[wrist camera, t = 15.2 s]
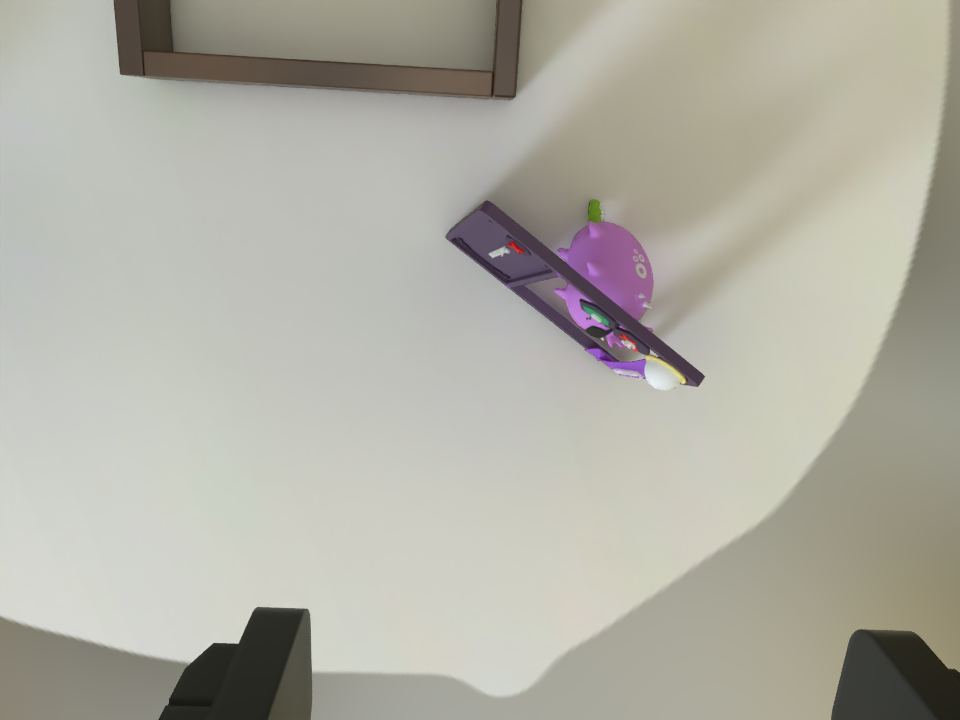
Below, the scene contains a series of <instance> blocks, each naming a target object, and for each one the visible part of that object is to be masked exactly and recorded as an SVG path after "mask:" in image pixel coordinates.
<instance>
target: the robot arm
mask: <svg viewBox="0 0 960 720" xmlns="http://www.w3.org/2000/svg"><path fill="white" fill-rule="evenodd" d="M311 707H312V666H311V624H310V613H309V610H308V609H298V608H269V607H257V608H255V610H254V611H253V613H252V615H251V617H250V619H249V622H248V624H247V626H246V628H245V631H244V633H243V635H242V637H241V640H240V642H239V644H227V643H213V644H212V645H211V646H210V647H209V648H208V649H206V650H205V651H204V652H203V653H202V654H201V655H200V656H199V657H198V658H196V659H195V660H194V661H193V662H192V663H191V664H190V665H189V666H187V667H186V668H185V670H184V672H183V674H182V676H181V678H180V679H179V681H178V683H177V685H176V687H175V689H174V691H173V693H172V695H171V697H170V699H169V704H168V706H165V708H164V710H163V712H162V714H161V716H160V718H159V720H310V718H311V709H312V708H311ZM831 720H960V673H959V672H958V671H957V670H955V669H948V668H947V667H946V666H945V665H944V664H943V663H942V661H941V660H940V659H939V658H938V657H937V656H936V655H935V654H934V652H933V651H932V650H931V649H930V648H929V647H928V646H927V644H926V643H925V642H924V641H923V640H922V639H921V638H920V637H919V636H918V635H917V634H915V633H914V632H911V631H893V630H862V629H861V630H857V631H855V632H854V633H853V634H852V636H851V638H850V640H849V644H848V648H847V652H846V656H845V660H844V664H843V668H842V673H841V677H840V681H839V685H838V689H837V693H836V697H835V701H834V705H833V710H832V717H831Z"/></svg>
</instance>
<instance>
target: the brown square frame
mask: <svg viewBox="0 0 960 720" xmlns="http://www.w3.org/2000/svg"><path fill="white" fill-rule="evenodd" d="M114 9H115V21H116V32H117V44H118V55H119V67H120V74H121V75H127V76H135V77H143V78H150V79H163V80H180V81H196V82H213V83H230V84H246V85H263V86H280V87H296V88H313V89H329V90H346V91H363V92H379V93H396V94H413V95H429V96H446V97H463V98H479V99H491V97H492V99H496V100H512V99H514V98H515V97H516V88H517V74H518V59H519V44H520V29H521V14H522V0H497V4H496V22H495V39H494V56H493V72H492V71H479V70H463V69H446V68H430V67H413V66H397V65H380V64H364V63H347V62H331V61H314V60H298V59H282V58H265V57H249V56H232V55H216V54H199V53H183V52H173V50H172V35H171V19H170V4H169V0H114Z"/></svg>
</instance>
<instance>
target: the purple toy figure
mask: <svg viewBox="0 0 960 720" xmlns="http://www.w3.org/2000/svg"><path fill="white" fill-rule="evenodd" d="M601 203H602V202H599V201H597V200H592V201H591V202H590V204H589V210H588V225H587V226H585V227H584V228H582V229H581V230H580V231H579V232H578V233H577V234H576V236H575V237H574V239H573V241H572V243H571V246H570V249H563V248H558V253H559V255H560V256H561V257H562V258H564V259H565V260H566V261H567V263H568V264H567V263H565V262H564V261H563V260H562V259H560V258H559V257H558V256H557V255H555V254H554V253H553V252H552V251H551V250H549V249H548V248H547V247H546V246H544V245H543V244H542V243H541V242H539V241H538V240H537V239H536V238H535V237H533V236H532V235H531V234H530V233H528V232H527V231H526V230H525V229H523V228H522V227H521V226H520V225H519V224H517V223H516V222H515V221H514V220H512V219H511V218H510V217H509V216H507V215H506V214H505V213H504V212H503V211H501V210H500V209H499V208H498V207H496V206H495V205H494V204H493V203H491V202H489V201H485V202H484V203H483V204H481V205H480V206H479V207H478V208H476V209H475V210H474V211H473V212H471V213H470V214H469V215H468V216H466V217H465V218H464V219H463V220H461V221H460V222H459V223H458V224H456V225H455V226H454V227H453V228H451V229H450V231H449V232H448V233H447V235H446V236H445V237H446V239H447V240H449V241H450V242H451V243H452V244H454V245H455V246H456V247H457V248H459V249H460V250H461V251H463V252H464V253H465V254H466V255H468V256H469V257H470V258H471V259H473V260H474V261H475V262H476V263H478V264H479V265H480V266H482V267H483V268H484V269H485V270H487V271H488V272H489V273H490V274H492V275H493V276H494V277H496V278H497V279H498V280H499V281H501V282H502V283H503V284H504V285H506V286H507V287H508V288H509V289H511V290H512V291H513V292H515V293H516V294H517V295H518V296H520V297H521V298H522V299H523V300H525V301H526V302H527V303H528V304H530V305H531V306H532V307H534V308H535V309H536V310H537V311H539V312H540V313H541V314H542V315H544V316H545V317H546V318H548V319H549V320H550V321H551V322H553V323H554V324H555V325H556V326H558V327H559V328H560V329H561V330H563V331H564V332H565V333H567V334H568V335H569V336H570V337H572V338H573V339H574V340H575V341H577V342H578V343H579V344H581V345H582V346H583V347H584V348H586V349H585V350H586V351H587V352H589V353H591V354H592V355H594V356H595V357H596V359H597V360H598V361H602V362H603V363H605V364H606V365H607V366H608V367H610V368H611V369H612V370H613V371H615V372H616V373H617V374H619V375H622V376H627V377H636V378H642V379H646V380H647V381H648V383H649V384H650V385H651V386H652V387H654V388H656V389H658V390H671V389H673V388H675V387H677V386H678V385H679V384H682V385H689V386H695V387H698V386H699V385H700V383H701V382H702V380H703V379H704V378H705V376H704V375H703V374H702V373H701V372H700V371H698V370H697V369H696V368H695V367H693V366H692V365H691V364H690V363H689V362H687V361H686V360H685V359H684V358H682V357H681V356H680V355H679V354H677V353H676V352H675V351H674V350H673V349H671V348H670V347H669V346H668V345H666V344H665V343H664V342H663V341H661V340H660V339H659V338H658V337H656V336H655V335H654V334H653V333H652V332H653V329H652V328H648V327H645V326H643V325H642V324H640V323H639V322H638V320H639V318H640V317H641V316H642V315H643V313H644V312H645V310H646V309H647V308H649V309H653V308H652V306H651V305H650V304H649V303H650V300H651V297H652V292H653V274H652V269H651V266H650V262H649V260H648V257H647V255H646V253H645V251H644V250H643V248H642V246H641V245H640V243H639V242H638V241H637V240H636V238H635V237H634V236H633V235H632V234H631V233H629V232H628V231H627V230H625V229H624V228H622V227H620V226H618V225H616V224H613V223H608V222H603V221H604V220H603V218H604V217H602V218H601V217H600V215H601V214H605V213H604V211H605V210H600V208H599V207H600V206H602V205H601ZM556 277H561V278H562V279H564V280H565V281H566V282H567V287H566V288H565V289H554V292H555V293H557V294H558V295H559V296H561V297H562V298H563V299H564V300H565V301H566V304H567V307H568V310H569V313H570V315H571V317H572V318H573V320H574V321H575V322H576V323H577V324H578V325H579V326H580V327H582V328H583V329H585V330H586V331H587V332H588V333H589V334H590V335H591V336H594V337H597V338H601V339H602V340H603V341H604V336H606V337H607V341H608V344H609V346H610V347H613V345H614V342H615V343H616V344H617V345H619V346H620V347H622V348H627V347H628V348H630V349H633V350H634V351H638V352H640V353H642V354H645V355H646V356H645V359H642V360H638V361H632V362H620V361H618V360H617V359H616V358H615V357H613V356H612V355H611V354H610V353H608V352H607V351H606V350H605V349H603V348H602V347H601V346H600V345H598V344H597V343H596V342H594V341H593V340H592V339H591V338H589V337H588V336H587V335H586V334H584V333H583V332H582V331H581V330H579V329H578V328H577V327H576V326H574V325H573V324H572V323H571V322H569V321H568V320H567V319H565V318H564V317H563V316H562V315H560V314H559V313H558V312H557V311H555V310H554V309H553V308H552V307H550V306H549V305H548V304H547V303H545V302H544V301H543V300H542V299H540V298H539V297H538V296H536V295H535V294H534V293H533V292H531V291H530V290H529V289H528V288H526V287H525V286H524V285H525V284H529V283H533V282H538V281H542V280H547V279H551V278H556ZM650 349H651V350H652V351H653V352H654V353H656V354H657V355H658V356H659V357H656V356H653V355H649V354H650Z"/></svg>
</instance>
